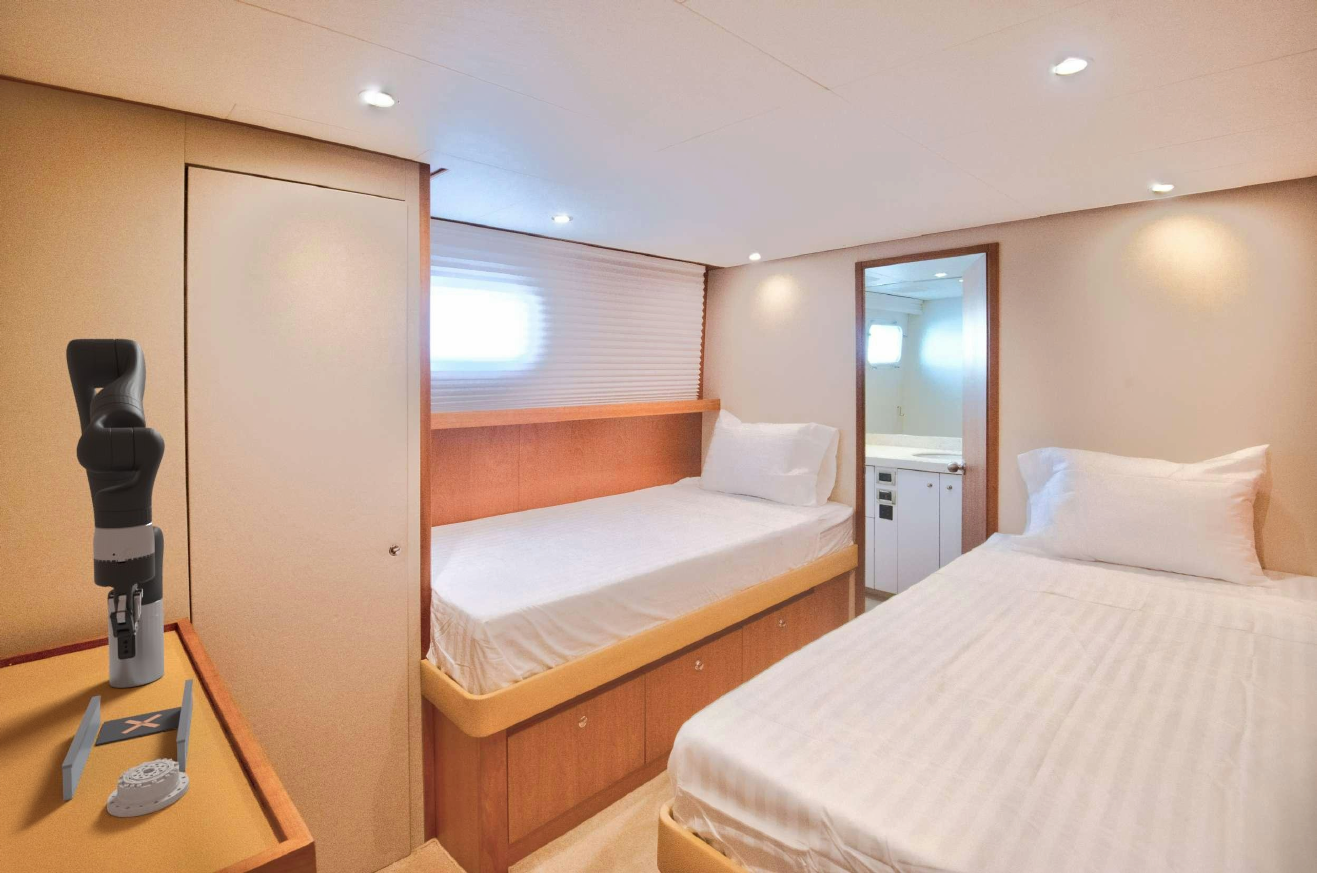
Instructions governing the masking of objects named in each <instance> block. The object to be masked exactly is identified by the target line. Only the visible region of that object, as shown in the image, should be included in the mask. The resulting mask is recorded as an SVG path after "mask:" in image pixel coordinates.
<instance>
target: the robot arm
mask: <svg viewBox="0 0 1317 873" xmlns="http://www.w3.org/2000/svg"><path fill="white" fill-rule="evenodd" d="M65 359H66V366H67V370H68V375H69V380H70V383H71V387H72V392H73V395H74V401H75V404H76V408H77V413H78V418H79V423H80V424H79V425H80V430H81V431H80V432H81V435H80V437H79V439H78V442H77V444H76V458H77V461H78V463H79V465H80V466H82V468H84V469H85V472H86V477H87V482H88V486H89V490H90V491H89V492H90V497H91V503H92V508H93V517H94V518H93V520H94V532H93V538H92V540H93V541H92V547H93V548H92V552H93V554H92V555H93V582H94V584H95V585H96V586H98V587H102V588H112V589H111V590H109V591H108V592H107V624H108V628H107V630H108V673H109V674H108V677H109V680H108V682H109V686H111V687H113V688H118V689H119V688H122V689H125V688H132V687H133V688H134V687H138V686H142V685H146V684H149V683H152V682H155V681H158V680H159V679H161V678H162V677H163V676H164V675H165V643H164V642H165V640H164V638H165V636H164V629H165V628H164V594H163V593H164V591H163V589H164V588H163V586H164V585H163V580H164V579H163V572H164V570H163V568H164V550H165V549H164V548H165V541H164V534H163V531H162V529H161V528H160V527H158V526H157V525H156V526H155V525H153V506H152V503H153V500H152V499H153V491H154V486H155V481H156V477H157V474H158V471H159V469H160V466H161V462H162V461H163V460H162V459H163V457H164V453H165V448H166V446H165V445H166V444H165V440H164V437H163V436H162V434H161V433H160V432H159V431H157V429H154V428H152V427H147V422H146V421H147V420H146V417H145V411H144V402H143V400H144V395H145V389H146V381H147V380H146V379H147V378H146V377H147V369H146V359H145V355H144V352H143V349H142V347H141V345H140V344H139V343H138V342H137V341H136V340H133V339H127V338H74V339H71V340H70V341H68V344H67V346H66V352H65ZM97 389H100V390H99V391H98V392H97V391H96V390H97Z"/></svg>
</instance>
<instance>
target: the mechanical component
mask: <svg viewBox="0 0 1317 873" xmlns="http://www.w3.org/2000/svg"><path fill="white" fill-rule="evenodd" d="M116 786H117V787H116V789H115V790H113V791H112V792H111V793H110V795H108V797H107V801H106V811H107V812H108V814H110V815H111V816H114V817H118V818H131V817H137V816H138V817H139V816H143V815H148V814H150V813H154V812H156V811H159V810H161V809H162V810H163V809H164V808H167V807H168V806H169V805H172V804H174V803H175V802H176V801H178V800H180V799H181V798H182V797H183V796H184V795H185V794H186V793H187V791H188V790H189V786H190V778H189V776H188V775H187V773H186V772H179V764H178V762H177V761H175V760H173V759H172V758H169V759H168V758H162V759H161V758H157V759H155V760H152V761H147V762H146V761H144V762H142V763H141V764H140V765H136V766H134V767H129V768H128V770H124V771H123V773H122V774H120V775H119V778H118V780H117V784H116Z"/></svg>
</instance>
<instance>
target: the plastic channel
mask: <svg viewBox="0 0 1317 873" xmlns="http://www.w3.org/2000/svg"><path fill="white" fill-rule="evenodd" d="M193 684H194V678H191V679H185V682H184V689H183V695H182V700H181V706H180V707H181V714H180V720H179V727H178V729H177V734H176V741H175V742H176V751H177V753H176V754H177V756H176V757H177V761H176V762H178V764H179V772H183V773H186V765H187V761H188V760H187V758H188V750H189V744H190V742H189V741H190V733H191V727H192V726H191V725H192V717H193V716H192V715H193V708H194V700H193V698H194V696H193V691H194V690H193V689H194V688H193ZM101 697H102V696H101V695H95V696H91V699H90V700H89V703H88V706H87V708H86V711H85V712H84V714H83V716H82V720H81V721H80V724H79V726H78V729H77V731H76V732H75V734H74V738H73V740H72V742H71V744H70V747H69V749H68V752H67V754H66V756H65V758H64V760H63V762H62V765H61V771H62V797H63V799H62V800H63V802H65V801H69V800H72V799H73V798H74V795H75V792H76V790H77V788H78V785H79V782H80V779H81V777H82V774H83V771H84V770H85V768H86V767H85V766H86V763H87V761H88V758H89V756H90V753H91V751H92V748H93V745H94V744H95V740H96V737H97V734H98V732H99V730H100V727H101V719H102V718H101V717H102V716H101V699H102V698H101Z"/></svg>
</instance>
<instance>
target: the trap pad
mask: <svg viewBox="0 0 1317 873" xmlns="http://www.w3.org/2000/svg"><path fill="white" fill-rule="evenodd" d="M181 707H182V706H178V707H173V708H172V707H171V708H168V709H162V710H158V711H157V710H156V711H151V712H147V713H141V714H136V715H132V716H127V717H121V718H116V719H111V720H106V721H105V720H104V721H103V723H102V726H101V728H100V729H101V730H100V732H99V735H98V737H97V740H96V742H95V746H97V747H98V746H101V745H107V744H110V743H111V742H112V743H115V742H116V743H117V742H121V741H125V740H129V739H134V738H139V737H144V736H149V735H153V734H157V733H162V732H167V731H168V732H169V731H173V730H178V727H179V720H180V714H181ZM112 743H111V744H112Z"/></svg>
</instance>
